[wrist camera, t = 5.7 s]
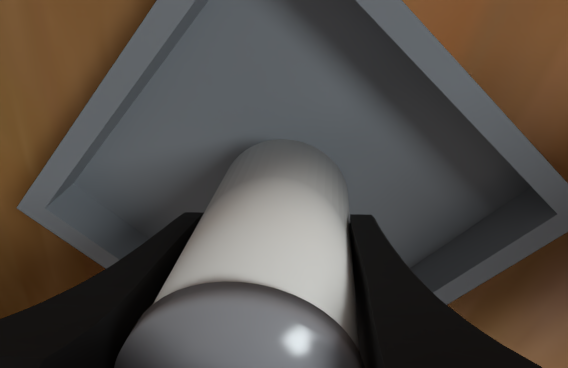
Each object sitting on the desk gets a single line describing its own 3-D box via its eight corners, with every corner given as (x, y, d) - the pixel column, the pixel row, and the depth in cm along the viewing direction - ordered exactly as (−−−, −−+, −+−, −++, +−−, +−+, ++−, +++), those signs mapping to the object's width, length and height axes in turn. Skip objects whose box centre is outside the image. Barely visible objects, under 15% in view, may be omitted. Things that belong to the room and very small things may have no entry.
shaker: (378, 205, 14) (424, 426, 7) (282, 274, 16) (242, 509, 9) (286, 107, 13) (231, 255, 6) (193, 193, 15) (64, 387, 8)
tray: (558, 177, 15) (595, 214, 13) (298, 351, 21) (294, 396, 19) (274, -135, 12) (261, -155, 10) (55, 176, 18) (16, 207, 16)
